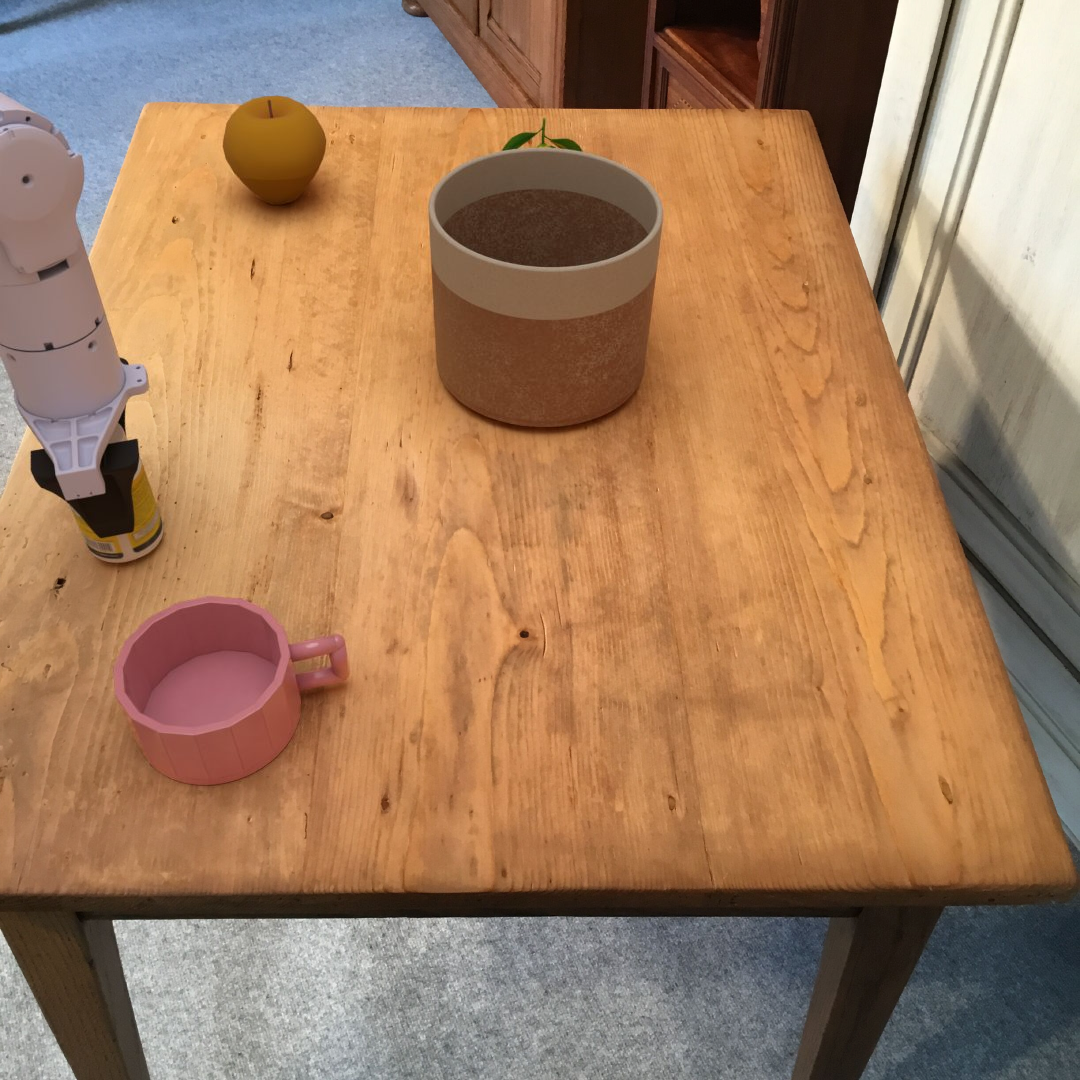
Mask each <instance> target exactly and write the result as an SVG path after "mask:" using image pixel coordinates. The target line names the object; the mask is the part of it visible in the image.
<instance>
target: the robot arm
mask: <svg viewBox="0 0 1080 1080" xmlns="http://www.w3.org/2000/svg"><path fill="white" fill-rule="evenodd" d="M84 164H85V163H84V159H83V156H82V154H80V153H75V151H73V150H72V149H71V147H70V145H69V142H68V141H67V139H66V137H65V136H64V134H63V133H62V131H61V130H60V129H58V128H57V127H55V126H54V123H53V122H52V121H50V120H49V119H47V118H46V117H44V116H43V115H41V114H39V113H38V112H35V111H34V110H32V109H30V108H28V107H27V106H25V105H23V104H22V103H20V102H18V101H16V100H14V99H13V98H11V97H10V96H8V95H5V94H4V93H2V92H1V91H0V360H1V362H2V364H3V367H4V369H5V372H6V373H7V377H8V379H9V381H10V384H11V386H12V389H13V401H14V403H15V407H16V408H17V411H18V413H19V415H20V416H21V418H22V419H23V421H24V422H25V424H26V425H27V427H28V429H30V431H31V433H32V434H33V436H34V437H35V439H36V440H37V441H38V443H39V444H40V445H41V447H42V448H38V449H33V450H31V451H30V456H29V457H30V472H31V475H32V477H33V479H34V481H35V482H36V484H37V485H38V486H39V488H41V489H43V490H45V491H48V492H50V493H52V494H54V495H55V496H57V497H59V498H60V499H61V500H63V501H65V502H66V503H67V504H68V505H69V507H70V506H72V507H73V508H74V510H75V511H76V512H77V513H78V514H79V515H80V516H81V518H82V519H83V520H84V521H85V523H86V524H87V525H88V526H89V527H90V529H91V530H92V531H93V532H94V533H95V534H96V535H97V536H98V537H99V538H106V537H111V536H116V535H122V534H127V533H132V532H133V531H134V524H135V519H134V508H133V499H132V482H133V479H134V476H135V474H136V472H137V469H138V464H139V456H140V447H139V439H138V438H134V439H127V441H121V442H116V443H110V444H108V442H109V440H110V438H111V436H112V434H113V432H114V429H115V427H116V425H117V423H119V424H120V425H121V427H122V428H123V430H124V432H125V435H126V436H127V430H126V429H127V428H126V409H127V403H128V401H129V399H131V398H132V397H134V396H139V395H140V396H141V395H143V394H146V393H147V392H148V391H149V390H150V381H149V375H148V370H147V368H146V366H145V365H144V364H141V363H132V364H129V361H128V360H127V359H126V358H124V357H121V356H120V355H119V352H118V349H117V345H116V341H115V339H114V337H113V333H112V330H111V326H110V324H109V320H108V317H107V314H106V311H105V308H104V304H103V302H102V298H101V294H100V291H99V288H98V285H97V282H96V278H95V275H94V272H93V269H92V266H91V262H90V259H89V256H88V253H87V249H86V247H85V243H84V240H83V236H82V234H81V230H80V228H79V226H78V223H77V208H78V204H79V202H80V200H81V196H82V194H83V190H84V185H85V165H84Z"/></svg>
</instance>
